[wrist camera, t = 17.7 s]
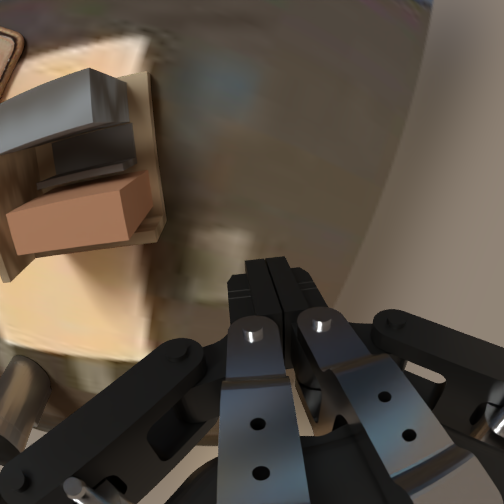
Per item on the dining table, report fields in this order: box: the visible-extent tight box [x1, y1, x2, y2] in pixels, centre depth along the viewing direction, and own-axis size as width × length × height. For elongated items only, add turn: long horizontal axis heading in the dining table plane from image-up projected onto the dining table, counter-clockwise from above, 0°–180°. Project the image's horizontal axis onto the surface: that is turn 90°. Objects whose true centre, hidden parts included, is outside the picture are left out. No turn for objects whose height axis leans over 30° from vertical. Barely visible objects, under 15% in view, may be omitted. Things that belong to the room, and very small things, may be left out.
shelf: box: [0, 68, 167, 283], centre depth 24 cm, size 17×16×12 cm
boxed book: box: [6, 170, 153, 255], centre depth 25 cm, size 4×12×10 cm, turn 94°
